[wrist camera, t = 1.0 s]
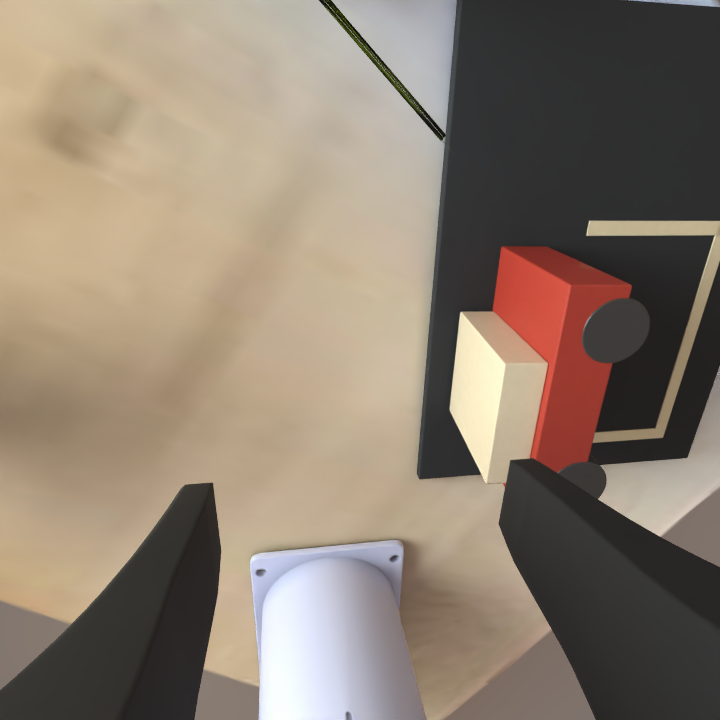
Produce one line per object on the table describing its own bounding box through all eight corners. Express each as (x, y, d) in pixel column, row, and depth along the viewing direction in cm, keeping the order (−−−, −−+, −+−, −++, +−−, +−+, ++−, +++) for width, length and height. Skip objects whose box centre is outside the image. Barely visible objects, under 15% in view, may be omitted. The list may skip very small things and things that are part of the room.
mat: (680, 452, 27) (688, 458, 27) (416, 473, 25) (419, 480, 24) (829, 19, 19) (845, 15, 18) (457, -9, 17) (463, -14, 16)
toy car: (532, 431, 24) (597, 518, 18) (444, 433, 24) (483, 523, 18) (568, 246, 20) (662, 285, 15) (464, 245, 20) (521, 285, 14)
